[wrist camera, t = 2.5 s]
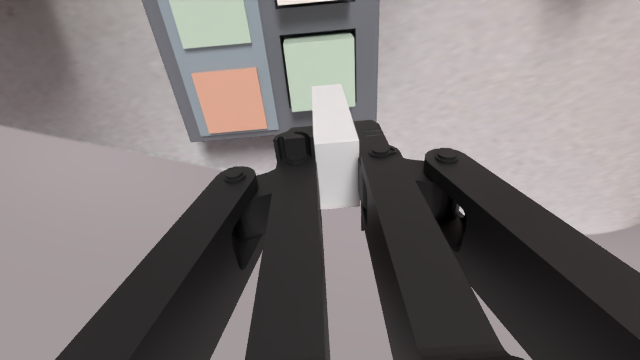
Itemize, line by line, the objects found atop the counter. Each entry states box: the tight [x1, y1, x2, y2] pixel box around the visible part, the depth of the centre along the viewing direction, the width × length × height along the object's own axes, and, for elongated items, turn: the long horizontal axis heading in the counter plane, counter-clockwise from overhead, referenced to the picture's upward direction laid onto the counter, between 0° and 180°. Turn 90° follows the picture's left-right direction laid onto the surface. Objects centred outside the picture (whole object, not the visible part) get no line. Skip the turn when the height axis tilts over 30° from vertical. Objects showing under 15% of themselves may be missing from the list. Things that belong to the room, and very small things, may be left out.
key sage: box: [283, 31, 355, 112], centre depth 21 cm, size 4×4×2 cm
